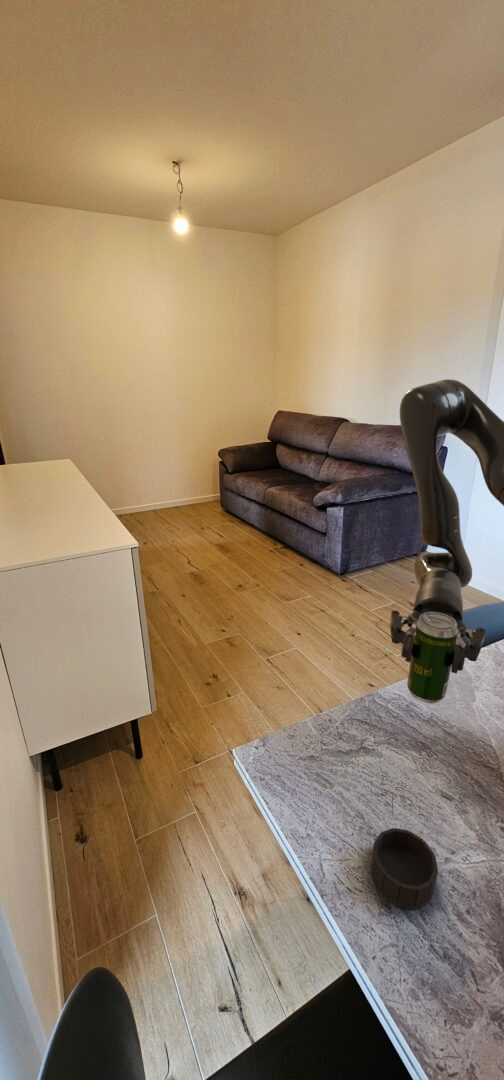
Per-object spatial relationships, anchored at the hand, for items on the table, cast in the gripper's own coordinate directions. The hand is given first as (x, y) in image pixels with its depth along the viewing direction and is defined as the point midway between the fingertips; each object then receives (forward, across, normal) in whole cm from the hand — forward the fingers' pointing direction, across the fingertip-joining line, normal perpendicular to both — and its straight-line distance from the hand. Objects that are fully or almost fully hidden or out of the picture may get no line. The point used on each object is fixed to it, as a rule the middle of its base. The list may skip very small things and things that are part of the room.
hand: (431, 661), depth 62 cm
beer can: (-3, 0, +7) cm, 8 cm away
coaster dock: (+18, 0, +18) cm, 25 cm away
